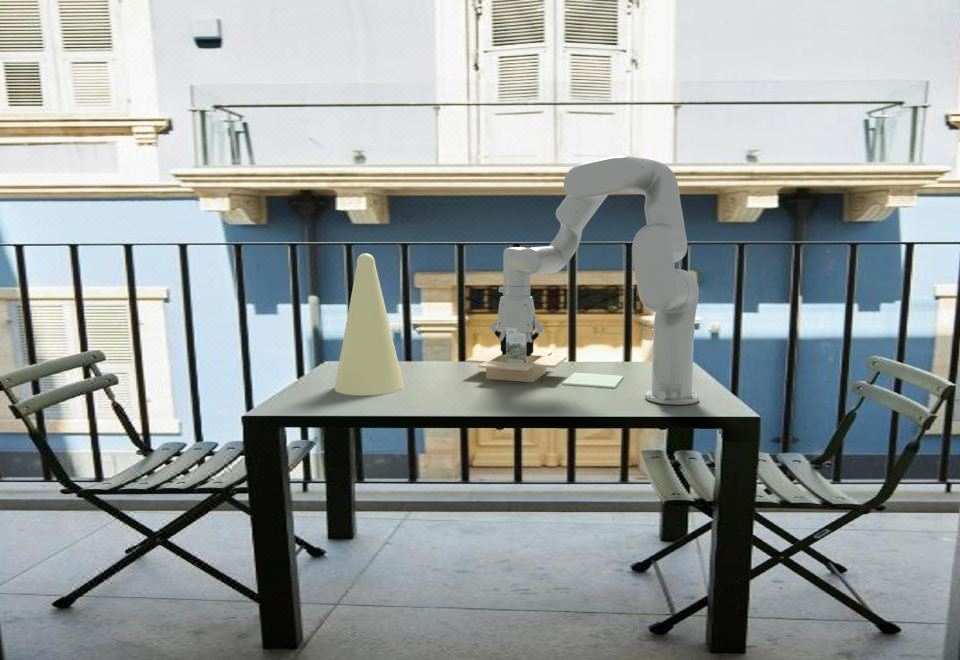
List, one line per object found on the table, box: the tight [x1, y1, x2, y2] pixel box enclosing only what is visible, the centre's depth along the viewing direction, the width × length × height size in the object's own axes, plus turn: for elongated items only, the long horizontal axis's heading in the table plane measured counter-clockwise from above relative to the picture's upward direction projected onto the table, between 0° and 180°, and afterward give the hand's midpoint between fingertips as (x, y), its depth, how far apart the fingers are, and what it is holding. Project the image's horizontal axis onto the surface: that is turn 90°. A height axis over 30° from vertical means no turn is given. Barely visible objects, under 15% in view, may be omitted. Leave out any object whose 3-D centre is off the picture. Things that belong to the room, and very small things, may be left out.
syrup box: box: [506, 327, 528, 363], centre depth 199 cm, size 6×6×14 cm
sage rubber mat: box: [562, 372, 624, 389], centre depth 192 cm, size 14×14×1 cm
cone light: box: [333, 253, 405, 397], centre depth 187 cm, size 25×18×35 cm
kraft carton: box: [465, 350, 568, 383], centre depth 199 cm, size 26×26×5 cm
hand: (516, 354), depth 199 cm, fingers closed on syrup box, 6 cm apart
